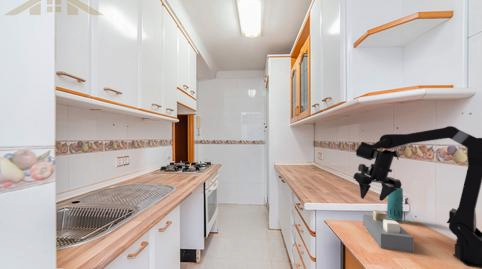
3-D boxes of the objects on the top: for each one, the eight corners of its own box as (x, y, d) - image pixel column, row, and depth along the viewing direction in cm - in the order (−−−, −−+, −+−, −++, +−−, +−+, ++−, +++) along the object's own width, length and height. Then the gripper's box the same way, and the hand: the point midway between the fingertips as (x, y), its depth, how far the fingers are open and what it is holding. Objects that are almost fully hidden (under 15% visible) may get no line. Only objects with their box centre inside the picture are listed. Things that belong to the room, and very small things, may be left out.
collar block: (388, 228, 98) (388, 216, 98) (413, 252, 76) (413, 237, 77) (363, 225, 100) (363, 214, 100) (380, 247, 79) (380, 233, 79)
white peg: (395, 233, 84) (395, 220, 84) (399, 237, 80) (399, 224, 80) (383, 232, 85) (383, 219, 85) (387, 236, 81) (387, 223, 81)
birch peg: (383, 222, 96) (383, 211, 96) (386, 225, 92) (386, 214, 92) (372, 221, 97) (372, 210, 97) (375, 224, 93) (376, 213, 93)
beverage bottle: (387, 221, 106) (387, 179, 107) (386, 217, 112) (386, 177, 113) (404, 224, 103) (404, 180, 104) (401, 220, 109) (402, 178, 110)
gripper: (385, 161, 101) (375, 192, 104) (350, 155, 97) (340, 188, 100) (407, 169, 90) (395, 205, 93) (368, 164, 87) (357, 200, 89)
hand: (371, 199), depth 94 cm, fingers open, 9 cm apart
